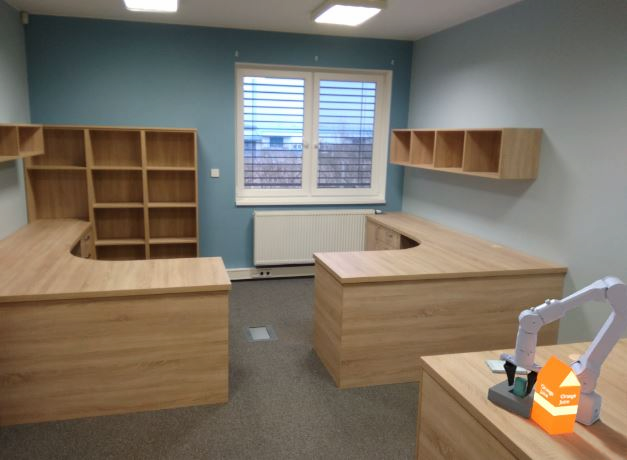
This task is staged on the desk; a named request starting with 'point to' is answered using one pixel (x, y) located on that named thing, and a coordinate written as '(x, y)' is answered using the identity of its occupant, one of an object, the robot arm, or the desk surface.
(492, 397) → the socket block
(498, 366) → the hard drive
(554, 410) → the orange juice
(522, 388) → the peg
